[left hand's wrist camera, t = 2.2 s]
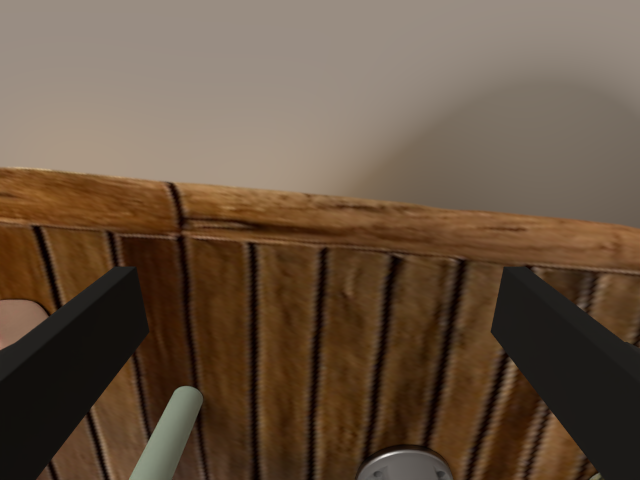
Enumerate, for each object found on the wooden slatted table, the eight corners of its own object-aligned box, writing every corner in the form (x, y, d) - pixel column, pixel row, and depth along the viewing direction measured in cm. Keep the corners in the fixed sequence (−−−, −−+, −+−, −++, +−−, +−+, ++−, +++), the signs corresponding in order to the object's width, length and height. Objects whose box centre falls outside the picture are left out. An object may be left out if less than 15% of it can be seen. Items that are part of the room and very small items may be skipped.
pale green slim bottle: (169, 403, 51) (92, 553, 33) (178, 382, 49) (101, 527, 32) (197, 412, 51) (136, 565, 34) (207, 391, 50) (147, 539, 33)
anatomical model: (-6, 301, 40) (63, 372, 43) (22, 284, 44) (83, 351, 47) (-87, 344, 42) (-16, 409, 46) (-54, 325, 46) (10, 386, 49)
